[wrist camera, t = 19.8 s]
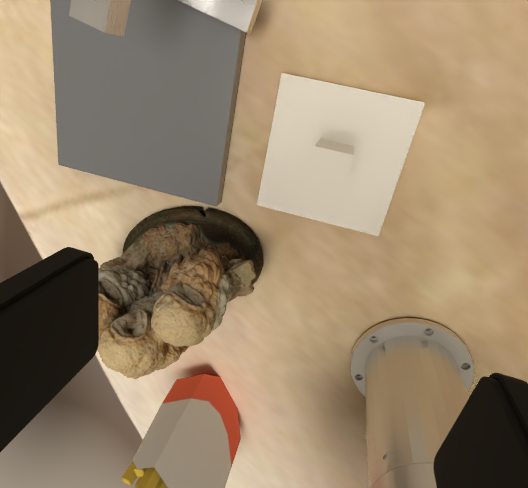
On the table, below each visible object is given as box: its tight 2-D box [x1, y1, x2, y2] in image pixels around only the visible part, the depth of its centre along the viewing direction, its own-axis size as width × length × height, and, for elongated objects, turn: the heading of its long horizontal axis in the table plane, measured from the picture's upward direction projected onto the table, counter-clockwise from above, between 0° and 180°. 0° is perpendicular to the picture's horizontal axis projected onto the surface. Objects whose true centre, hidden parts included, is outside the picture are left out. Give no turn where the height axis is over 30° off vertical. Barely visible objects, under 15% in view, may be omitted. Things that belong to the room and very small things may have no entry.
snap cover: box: [257, 73, 425, 236], centre depth 32 cm, size 12×12×7 cm
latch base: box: [50, 0, 246, 206], centre depth 34 cm, size 26×18×2 cm
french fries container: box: [121, 374, 241, 488], centre depth 41 cm, size 5×11×18 cm, turn 24°
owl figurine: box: [97, 206, 263, 379], centre depth 34 cm, size 18×12×17 cm, turn 104°
